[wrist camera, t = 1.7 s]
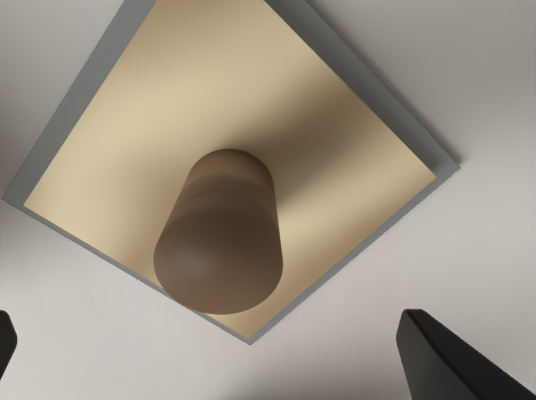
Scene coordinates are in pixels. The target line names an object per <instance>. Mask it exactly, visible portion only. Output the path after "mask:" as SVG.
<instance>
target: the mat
mask: <svg viewBox="0 0 536 400" xmlns="http://www.w3.org/2000/svg"><path fill="white" fill-rule="evenodd" d="M156 1H157V0H124V2H123V4H122V5H121V7H120V8H119V10H118V12H117V13H116V15H115V17H114V18H113V20H112V21H111V23H110V25H109V26H108V28H107V29H106V31H105V33H104V34H103V36H102V38H101V39H100V41H99V42H98V44H97V46H96V47H95V49H94V50H93V52H92V54H91V55H90V57H89V58H88V60H87V62H86V63H85V65H84V67H83V68H82V70H81V71H80V73H79V75H78V76H77V78H76V79H75V81H74V83H73V84H72V86H71V88H70V89H69V91H68V92H67V94H66V96H65V97H64V99H63V100H62V102H61V104H60V105H59V107H58V109H57V110H56V112H55V113H54V115H53V117H52V118H51V120H50V121H49V123H48V125H47V126H46V128H45V129H44V131H43V133H42V134H41V136H40V138H39V139H38V141H37V142H36V144H35V146H34V147H33V149H32V150H31V152H30V154H29V155H28V157H27V159H26V160H25V162H24V163H23V165H22V167H21V168H20V170H19V171H18V173H17V175H16V176H15V178H14V180H13V181H12V183H11V184H10V186H9V188H8V189H7V191H6V192H5V194H4V196H3V197H2V200H4V201H6V202H7V203H9V204H11V205H12V206H14V207H16V208H17V209H19V210H21V211H23V212H24V213H26V214H28V215H29V216H31V217H33V218H34V219H36V220H38V221H40V222H41V223H43V224H45V225H46V226H48V227H50V228H51V229H53V230H55V231H57V232H58V233H60V234H62V235H63V236H65V237H67V238H68V239H70V240H72V241H74V242H75V243H77V244H79V245H80V246H82V247H84V248H85V249H87V250H89V251H90V252H92V253H94V254H96V255H97V256H99V257H101V258H102V259H104V260H106V261H107V262H109V263H111V264H113V265H114V266H116V267H118V268H119V269H121V270H123V271H124V272H126V273H128V274H130V275H131V276H133V277H135V278H136V279H138V280H140V281H141V282H143V283H145V284H147V285H148V286H150V287H152V288H153V289H155V290H157V291H158V292H160V293H162V294H164V295H165V296H167V297H169V298H170V299H172V300H174V299H173V298H172V297H171V296H170V295H169V294H168V293H167V292H166V291H165V290H164V289H163V288H161V287H160V286H158V285H156V284H155V283H153V282H151V281H149V280H148V279H146V278H144V277H143V276H141V275H139V274H138V273H136V272H134V271H133V270H131V269H129V268H128V267H126V266H124V265H123V264H121V263H119V262H118V261H116V260H114V259H112V258H111V257H109V256H107V255H106V254H104V253H102V252H101V251H99V250H97V249H96V248H94V247H92V246H91V245H89V244H87V243H86V242H84V241H82V240H81V239H79V238H77V237H76V236H74V235H72V234H70V233H69V232H67V231H65V230H64V229H62V228H60V227H59V226H57V225H55V224H54V223H52V222H50V221H49V220H47V219H45V218H44V217H42V216H40V215H39V214H37V213H35V212H33V211H32V210H30V209H28V208H27V207H25V206H23V205H24V203H25V202H26V200H27V199H28V197H29V196H30V194H31V193H32V191H33V189H34V188H35V186H36V185H37V183H38V182H39V180H40V179H41V177H42V176H43V174H44V173H45V171H46V170H47V168H48V167H49V165H50V163H51V162H52V160H53V159H54V157H55V156H56V154H57V153H58V151H59V150H60V148H61V147H62V145H63V144H64V142H65V141H66V139H67V138H68V136H69V134H70V133H71V131H72V130H73V128H74V127H75V125H76V124H77V122H78V121H79V119H80V118H81V116H82V115H83V113H84V112H85V110H86V108H87V107H88V105H89V104H90V102H91V101H92V99H93V98H94V96H95V95H96V93H97V92H98V90H99V89H100V87H101V86H102V84H103V82H104V81H105V79H106V78H107V76H108V75H109V73H110V72H111V70H112V69H113V67H114V66H115V64H116V63H117V61H118V60H119V58H120V56H121V55H122V53H123V52H124V50H125V49H126V47H127V46H128V44H129V43H130V41H131V40H132V38H133V37H134V35H135V34H136V32H137V30H138V29H139V27H140V26H141V24H142V23H143V21H144V20H145V18H146V17H147V15H148V14H149V12H150V11H151V9H152V8H153V6H154V4H155V3H156ZM264 1H265V2H266V3H267V4H268V5H269V6H270V7H271V8H272V9H273V10H274V11H275V12H276V13H277V14H278V15H279V16H280V17H281V18H282V19H283V20H284V22H285V23H286V24H287V25H288V26H289V27H290V28H291V29H292V30H293V31H294V32H295V33H296V34H297V35H298V36H299V37H300V38H301V39H302V40H303V41H304V42H305V43H306V44H307V45H308V46H309V47H310V48H311V49H312V50H313V51H314V52H315V53H316V54H317V55H318V56H319V57H320V58H321V59H322V60H323V61H324V62H325V63H326V64H327V65H328V66H329V67H330V68H331V70H332V71H333V72H334V73H335V74H336V75H337V76H338V77H339V78H340V79H341V80H342V81H343V82H344V83H345V84H346V85H347V86H348V87H349V88H350V89H351V90H352V91H353V92H354V93H355V94H356V95H357V96H358V97H359V98H360V99H361V100H362V101H363V102H364V103H365V104H366V105H367V106H368V107H369V108H370V109H371V110H372V111H373V112H374V113H375V114H376V115H377V116H378V118H379V119H380V120H381V121H382V122H383V123H384V124H385V125H386V126H387V127H388V128H389V129H390V130H391V131H392V132H393V133H394V134H395V135H396V136H397V137H398V138H399V139H400V140H401V141H402V142H403V143H404V144H405V145H406V146H407V147H408V148H409V149H410V150H411V151H412V152H413V153H414V154H415V155H416V156H417V157H418V158H419V159H420V160H421V161H422V162H423V163H424V164H425V166H426V167H427V168H428V169H429V170H430V171H431V172H432V173H433V174H434V175H435V176H436V178H435V179H434V180H433V181H432V182H431V183H429V184H428V185H427V186H426V187H425V188H424V189H423V190H421V191H420V192H419V193H418V194H417V195H416V196H414V197H413V198H412V199H411V200H410V201H409V202H407V203H406V204H405V205H404V206H403V207H402V208H400V209H399V210H398V211H397V212H396V213H395V214H393V215H392V216H391V217H390V218H389V219H388V220H386V221H385V222H384V223H383V224H382V225H381V226H379V227H378V228H377V229H376V230H375V231H374V232H372V233H371V234H370V235H369V236H368V237H367V238H365V239H364V240H363V241H362V242H361V243H360V244H358V245H357V246H356V247H355V248H354V249H353V250H351V251H350V252H349V253H348V254H347V255H346V256H344V257H343V258H342V259H341V260H340V261H339V262H337V263H336V264H335V265H334V266H333V267H332V268H330V269H329V270H328V271H327V272H326V273H325V274H323V275H322V276H321V277H320V278H319V279H318V280H316V281H315V282H314V283H313V284H312V285H311V286H309V287H308V288H307V289H306V290H305V291H304V292H302V293H301V294H300V295H299V296H298V297H297V298H295V299H294V300H293V301H292V302H291V303H290V304H288V305H287V306H286V307H285V308H284V309H283V310H281V311H280V312H279V313H278V314H277V315H276V316H274V317H273V318H272V319H271V320H270V321H269V322H267V323H266V324H265V325H264V326H263V327H262V328H261V329H259V330H258V331H257V332H256V333H255V334H254V335H252V336H251V337H250V338H249V339H247V338H245V337H244V336H242V335H240V334H239V333H237V332H235V331H234V330H232V329H230V328H229V327H227V326H225V325H223V324H222V323H220V322H218V321H217V320H215V319H213V318H212V317H210V316H208V315H207V314H205V313H202V312H198V311H195V310H192V309H190V308H188V307H186V306H184V305H182V304H181V305H182V306H184V307H186V308H187V309H189V310H191V311H192V312H194V313H196V314H198V315H199V316H201V317H203V318H204V319H206V320H208V321H209V322H211V323H213V324H215V325H216V326H218V327H220V328H221V329H223V330H225V331H226V332H228V333H230V334H232V335H233V336H235V337H237V338H238V339H240V340H242V341H243V342H245V343H247V344H248V345H250V346H251V345H252V344H253V343H254V342H255V341H257V340H258V339H259V338H260V337H261V336H263V335H264V334H265V333H266V332H267V331H268V330H270V329H271V328H272V327H273V326H274V325H276V324H277V323H278V322H279V321H280V320H281V319H283V318H284V317H285V316H286V315H287V314H289V313H290V312H291V311H292V310H293V309H294V308H296V307H297V306H298V305H299V304H300V303H302V302H303V301H304V300H305V299H306V298H307V297H309V296H310V295H311V294H312V293H313V292H315V291H316V290H317V289H318V288H319V287H320V286H322V285H323V284H324V283H325V282H326V281H328V280H329V279H330V278H331V277H332V276H333V275H335V274H336V273H337V272H338V271H339V270H341V269H342V268H343V267H344V266H345V265H346V264H348V263H349V262H350V261H351V260H352V259H354V258H355V257H356V256H357V255H358V254H359V253H361V252H362V251H363V250H364V249H365V248H367V247H368V246H369V245H370V244H371V243H372V242H374V241H375V240H376V239H377V238H378V237H380V236H381V235H382V234H383V233H384V232H385V231H387V230H388V229H389V228H390V227H391V226H393V225H394V224H395V223H396V222H397V221H398V220H400V219H401V218H402V217H403V216H404V215H406V214H407V213H408V212H409V211H410V210H411V209H413V208H414V207H415V206H416V205H417V204H419V203H420V202H421V201H422V200H423V199H425V198H426V197H427V196H428V195H429V194H430V193H432V192H433V191H434V190H435V189H436V188H438V187H439V186H440V185H441V184H442V183H443V182H445V181H446V180H447V179H448V178H449V177H451V176H452V175H453V174H454V173H455V172H456V171H458V170H459V169H460V168H461V167H460V166H459V165H458V164H457V163H456V162H455V161H454V160H453V159H452V158H451V157H450V156H449V155H448V153H447V152H446V151H445V150H444V149H443V148H442V147H441V146H440V145H439V144H438V143H437V142H436V141H435V139H434V138H433V137H432V136H431V135H430V134H429V133H428V132H427V131H426V130H425V129H424V128H423V127H422V125H421V124H420V123H419V122H418V121H417V120H416V119H415V118H414V117H413V116H412V115H411V114H410V113H409V112H408V110H407V109H406V108H405V107H404V106H403V105H402V104H401V103H400V102H399V101H398V100H397V99H396V98H395V96H394V95H393V94H392V93H391V92H390V91H389V90H388V89H387V88H386V87H385V86H384V85H383V84H382V82H381V81H380V80H379V79H378V78H377V77H376V76H375V75H374V74H373V73H372V72H371V71H370V70H369V68H368V67H367V66H366V65H365V64H364V63H363V62H362V61H361V60H360V59H359V58H358V57H357V56H356V54H355V53H354V52H353V51H352V50H351V49H350V48H349V47H348V46H347V45H346V44H345V43H344V42H343V41H342V39H341V38H340V37H339V36H338V35H337V34H336V33H335V32H334V31H333V30H332V29H331V28H330V27H329V25H328V24H327V23H326V22H325V21H324V20H323V19H322V18H321V17H320V16H319V15H318V14H317V13H316V11H315V10H314V9H313V8H312V7H311V6H310V5H309V4H308V3H307V2H306V1H305V0H264ZM174 301H175V302H177V301H176V300H174ZM177 303H179V302H177ZM179 304H180V303H179Z"/></svg>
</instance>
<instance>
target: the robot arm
mask: <svg viewBox="0 0 536 400" xmlns="http://www.w3.org/2000/svg"><path fill="white" fill-rule="evenodd" d="M396 342H397V346H398V350H399V354H400V357H401V361H402V364H403V368H404V372H405V375H406V379H407V382H408V386H409V389H410V393H411V397H412V400H536V395H535V394H533V393H532V392H531V391H529V390H528V389H527V388H525V387H524V386H523V385H522V384H520V383H519V382H518V381H516V380H515V379H514V378H512V377H511V376H510V375H508V374H507V373H506V372H504V371H503V370H502V369H500V368H499V367H498V366H497V365H495V364H494V363H493V362H491V361H490V360H489V359H487V358H486V357H485V356H483V355H482V354H481V353H479V352H478V351H477V350H475V349H474V348H473V347H471V346H470V345H469V344H468V343H466V342H465V341H464V340H462V339H461V338H460V337H458V336H457V335H456V334H454V333H453V332H452V331H450V330H449V329H448V328H446V327H445V326H444V325H443V324H441V323H440V322H439V321H437V320H436V319H435V318H433V317H432V316H431V315H429V314H428V313H427V312H425V311H424V310H422V309H405V310H404V311H403V312H402V315H401V319H400V323H399V326H398V330H397V334H396ZM16 345H17V334H16V332H15V329H14V327H13V324H12V322H11V319H10V317H9V315H8V313H7V312H6V311H3V310H0V380H1V378H2V376H3V374H4V372H5V369H6V367H7V365H8V363H9V361H10V359H11V357H12V355H13V353H14V351H15V348H16Z"/></svg>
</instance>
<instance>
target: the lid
mask: <svg viewBox="0 0 536 400" xmlns="http://www.w3.org/2000/svg"><path fill="white" fill-rule="evenodd" d="M435 178H436V176H435V175H434V174H433V173H432V172H431V171H430V170H429V169H428V168H427V167H426V166H425V164H424V163H423V162H422V161H421V160H420V159H419V158H418V157H417V156H416V155H415V154H414V153H413V152H412V151H411V150H410V149H409V148H408V147H407V146H406V145H405V144H404V143H403V142H402V141H401V140H400V139H399V138H398V137H397V136H396V135H395V134H394V133H393V132H392V131H391V130H390V129H389V128H388V127H387V126H386V125H385V124H384V123H383V122H382V121H381V120H380V119H379V118H378V116H377V115H376V114H375V113H374V112H373V111H372V110H371V109H370V108H369V107H368V106H367V105H366V104H365V103H364V102H363V101H362V100H361V99H360V98H359V97H358V96H357V95H356V94H355V93H354V92H353V91H352V90H351V89H350V88H349V87H348V86H347V85H346V84H345V83H344V82H343V81H342V80H341V79H340V78H339V77H338V76H337V75H336V74H335V73H334V72H333V71H332V70H331V68H330V67H329V66H328V65H327V64H326V63H325V62H324V61H323V60H322V59H321V58H320V57H319V56H318V55H317V54H316V53H315V52H314V51H313V50H312V49H311V48H310V47H309V46H308V45H307V44H306V43H305V42H304V41H303V40H302V39H301V38H300V37H299V36H298V35H297V34H296V33H295V32H294V31H293V30H292V29H291V28H290V27H289V26H288V25H287V24H286V23H285V22H284V20H283V19H282V18H281V17H280V16H279V15H278V14H277V13H276V12H275V11H274V10H273V9H272V8H271V7H270V6H269V5H268V4H267V3H266V2H265V1H264V0H157V1H156V3H155V4H154V6H153V8H152V9H151V11H150V12H149V14H148V15H147V17H146V18H145V20H144V21H143V23H142V24H141V26H140V27H139V29H138V30H137V32H136V34H135V35H134V37H133V38H132V40H131V41H130V43H129V44H128V46H127V47H126V49H125V50H124V52H123V53H122V55H121V56H120V58H119V60H118V61H117V63H116V64H115V66H114V67H113V69H112V70H111V72H110V73H109V75H108V76H107V78H106V79H105V81H104V82H103V84H102V86H101V87H100V89H99V90H98V92H97V93H96V95H95V96H94V98H93V99H92V101H91V102H90V104H89V105H88V107H87V108H86V110H85V112H84V113H83V115H82V116H81V118H80V119H79V121H78V122H77V124H76V125H75V127H74V128H73V130H72V131H71V133H70V134H69V136H68V138H67V139H66V141H65V142H64V144H63V145H62V147H61V148H60V150H59V151H58V153H57V154H56V156H55V157H54V159H53V160H52V162H51V163H50V165H49V167H48V168H47V170H46V171H45V173H44V174H43V176H42V177H41V179H40V180H39V182H38V183H37V185H36V186H35V188H34V189H33V191H32V193H31V194H30V196H29V197H28V199H27V200H26V202H25V203H24V205H23V206H25V207H27V208H28V209H30V210H32V211H33V212H35V213H37V214H39V215H40V216H42V217H44V218H45V219H47V220H49V221H50V222H52V223H54V224H55V225H57V226H59V227H60V228H62V229H64V230H65V231H67V232H69V233H70V234H72V235H74V236H76V237H77V238H79V239H81V240H82V241H84V242H86V243H87V244H89V245H91V246H92V247H94V248H96V249H97V250H99V251H101V252H102V253H104V254H106V255H107V256H109V257H111V258H112V259H114V260H116V261H118V262H119V263H121V264H123V265H124V266H126V267H128V268H129V269H131V270H133V271H134V272H136V273H138V274H139V275H141V276H143V277H144V278H146V279H148V280H149V281H151V282H153V283H155V284H156V285H158V286H160V287H161V288H163V289H164V290H165V291H166V292H167V293H168V294H169V295H170V296H171V297H172V298H173V299H174V300H176V301H177V302H179V303H180V304H182V305H184V306H186V307H188V308H190V309H192V310H195V311H198V312H202V313H205V314H207V315H208V316H210V317H212V318H213V319H215V320H217V321H218V322H220V323H222V324H223V325H225V326H227V327H229V328H230V329H232V330H234V331H235V332H237V333H239V334H240V335H242V336H244V337H245V338H247V339H249V338H250V337H251V336H252V335H254V334H255V333H256V332H257V331H258V330H259V329H261V328H262V327H263V326H264V325H265V324H266V323H267V322H269V321H270V320H271V319H272V318H273V317H274V316H276V315H277V314H278V313H279V312H280V311H281V310H283V309H284V308H285V307H286V306H287V305H288V304H290V303H291V302H292V301H293V300H294V299H295V298H297V297H298V296H299V295H300V294H301V293H302V292H304V291H305V290H306V289H307V288H308V287H309V286H311V285H312V284H313V283H314V282H315V281H316V280H318V279H319V278H320V277H321V276H322V275H323V274H325V273H326V272H327V271H328V270H329V269H330V268H332V267H333V266H334V265H335V264H336V263H337V262H339V261H340V260H341V259H342V258H343V257H344V256H346V255H347V254H348V253H349V252H350V251H351V250H353V249H354V248H355V247H356V246H357V245H358V244H360V243H361V242H362V241H363V240H364V239H365V238H367V237H368V236H369V235H370V234H371V233H372V232H374V231H375V230H376V229H377V228H378V227H379V226H381V225H382V224H383V223H384V222H385V221H386V220H388V219H389V218H390V217H391V216H392V215H393V214H395V213H396V212H397V211H398V210H399V209H400V208H402V207H403V206H404V205H405V204H406V203H407V202H409V201H410V200H411V199H412V198H413V197H414V196H416V195H417V194H418V193H419V192H420V191H421V190H423V189H424V188H425V187H426V186H427V185H428V184H429V183H431V182H432V181H433V180H434V179H435Z"/></svg>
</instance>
